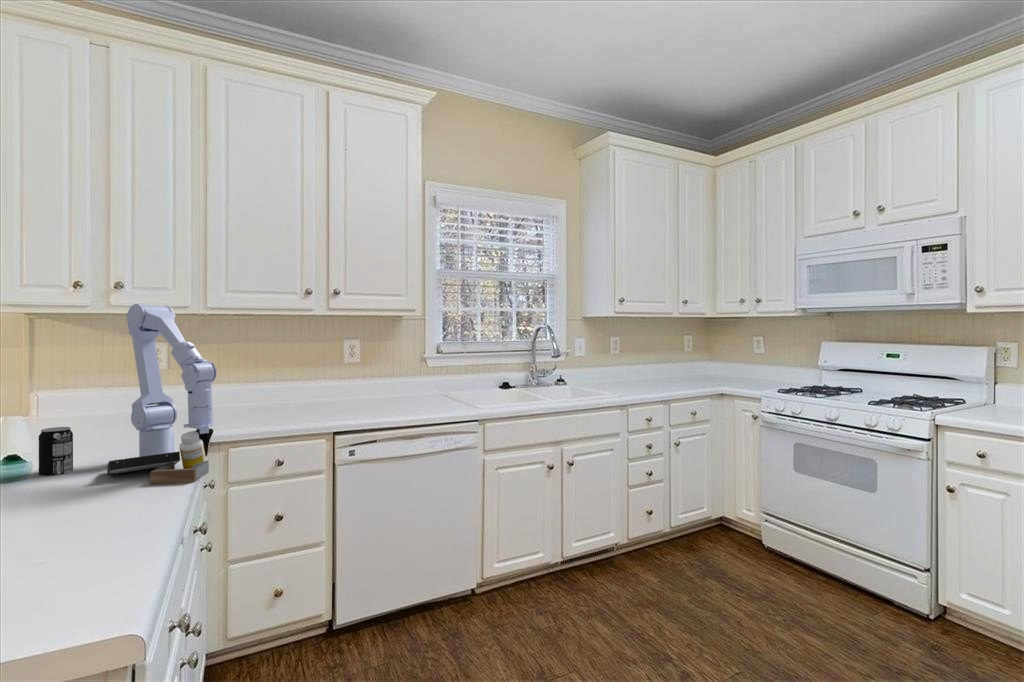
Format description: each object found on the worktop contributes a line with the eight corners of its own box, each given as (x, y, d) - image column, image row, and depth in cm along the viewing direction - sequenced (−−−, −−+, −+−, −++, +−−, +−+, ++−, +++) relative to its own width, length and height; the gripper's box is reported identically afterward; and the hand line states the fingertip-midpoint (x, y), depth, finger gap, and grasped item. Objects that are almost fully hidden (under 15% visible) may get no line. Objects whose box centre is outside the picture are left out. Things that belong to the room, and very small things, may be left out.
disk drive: (109, 472, 127) (181, 461, 137) (108, 460, 128) (180, 450, 137) (106, 476, 135) (175, 465, 144) (106, 465, 135) (174, 455, 145)
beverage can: (45, 474, 136) (45, 427, 136) (76, 471, 138) (76, 425, 138) (33, 480, 130) (33, 431, 130) (67, 477, 132) (67, 429, 132)
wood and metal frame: (168, 474, 135) (168, 462, 135) (208, 472, 137) (208, 460, 137) (150, 484, 126) (150, 471, 126) (194, 482, 128) (194, 469, 128)
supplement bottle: (189, 462, 143) (183, 430, 140) (210, 461, 144) (205, 429, 141) (179, 473, 138) (173, 440, 135) (201, 472, 138) (195, 439, 135)
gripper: (180, 405, 147) (182, 454, 147) (185, 410, 135) (187, 464, 135) (209, 403, 151) (211, 450, 151) (217, 408, 139) (218, 459, 139)
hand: (202, 456), depth 143 cm, fingers closed, pressing on supplement bottle
